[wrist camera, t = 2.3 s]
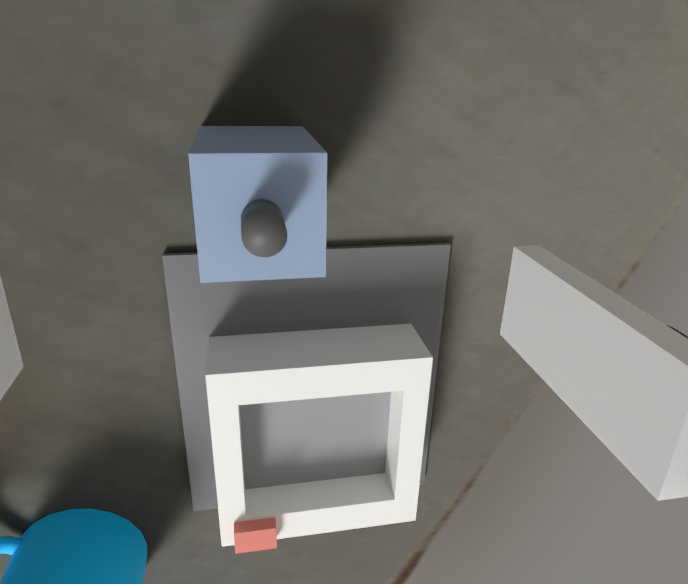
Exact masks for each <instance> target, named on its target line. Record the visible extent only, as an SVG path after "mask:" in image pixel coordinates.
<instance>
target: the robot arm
mask: <svg viewBox="0 0 688 584" xmlns="http://www.w3.org/2000/svg"><path fill="white" fill-rule="evenodd" d="M500 335H501V336H502V337H503V338H504V339H505V340H506V341H507V342H508V343H509V344H510V345H511V346H512V347H513V348H514V349H515V350H516V351H517V352H518V354H519V355H520V356H521V357H522V358H523V359H524V360H525V361H526V362H527V363H528V364H529V365H530V366H531V367H532V368H533V369H534V370H535V372H536V373H537V374H538V375H539V376H540V377H541V378H542V379H543V380H544V381H545V382H546V383H547V384H548V385H549V386H550V387H551V388H552V389H553V391H554V392H555V393H556V394H557V395H558V396H559V397H560V398H561V399H562V400H563V401H564V402H565V403H566V404H567V405H568V406H569V407H570V408H571V410H572V411H573V412H574V413H575V414H576V415H577V416H578V417H579V418H580V419H581V420H582V421H583V422H584V423H585V424H586V425H587V427H589V429H590V430H591V431H592V432H593V433H594V434H595V435H596V436H597V437H598V438H599V439H600V440H601V441H602V442H603V443H604V444H605V446H606V447H607V448H608V449H609V450H610V451H611V452H612V453H613V454H614V455H615V456H616V457H617V458H618V459H619V460H620V461H621V462H622V463H623V465H624V466H625V467H627V469H628V470H629V471H630V472H631V473H632V474H633V475H634V476H635V477H636V478H637V479H638V480H639V481H640V483H641V484H642V485H643V486H644V487H645V488H646V489H647V490H648V491H649V492H650V493H651V494H652V495H653V496H654V497H655V498H656V500H666V499H673V498H680V497H687V496H688V337H687V336H686V335H684V334H683V333H681V332H679V331H678V330H676V329H674V328H672V327H670V326H667V325H665V324H664V323H662V322H660V321H659V320H657V319H656V318H654V317H652V316H651V315H649V314H647V313H646V312H644V311H643V310H641V309H640V308H638V307H636V306H635V305H633V304H631V303H630V302H628V301H627V300H625V299H624V298H622V297H620V296H619V295H617V294H616V293H614V292H612V291H611V290H609V289H608V288H606V287H604V286H603V285H601V284H600V283H598V282H596V281H595V280H593V279H592V278H590V277H588V276H587V275H585V274H584V273H582V272H581V271H579V270H577V269H576V268H574V267H573V266H571V265H569V264H568V263H566V262H565V261H563V260H561V259H560V258H558V257H557V256H555V255H553V254H552V253H550V252H549V251H547V250H545V249H544V248H542V247H541V246H518V247H514V250H513V256H512V262H511V269H510V275H509V281H508V287H507V294H506V300H505V306H504V312H503V318H502V325H501V331H500ZM22 368H23V363H22V359H21V355H20V351H19V347H18V343H17V339H16V335H15V331H14V327H13V323H12V319H11V316H10V312H9V308H8V304H7V300H6V296H5V292H4V288H3V284H2V280H1V276H0V400H1V399H2V397H3V396H4V394H5V393H6V391H7V390H8V389H9V387H10V386H11V384H12V383H13V381H14V380H15V379H16V377H17V376H18V374H19V373H20V371H21V370H22Z"/></svg>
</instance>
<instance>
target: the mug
mask: <svg viewBox="0 0 688 584" xmlns="http://www.w3.org/2000/svg"><path fill="white" fill-rule="evenodd" d="M2 553H4V554H10V555H12V558H11V560H10V562H9V564H8V567H7V569H6V571H5V573H4V576H3V578H2V580H1V582H0V584H143V579H144V573H145V567H146V562H147V543H146V541H145V539H144V537H143V534H142V532H141V531H140V530H139V529H138V528H137V527H136V526H134V525H133V524H132V523H131V522H130V521H129V520H127V519H125V518H123V517H121V516H118V515H116V514H114V513H112V512H107V511H102V510H97V509H69V510H65V511H61V512H57V513H53V514H50V515H48V516H46V517H44V518H42V519H40V520H39V521H37V522H35V523H33V524H32V525H31V526H30V527H29V528H28V529H27V530H26V531H25V532H24V533H23V535H22V536H21V537H20V538H16V537H11V536H5V537H0V554H2Z"/></svg>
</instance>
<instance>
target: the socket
mask: <svg viewBox="0 0 688 584" xmlns="http://www.w3.org/2000/svg"><path fill="white" fill-rule="evenodd" d="M450 248H451V244H450V243H449V242H444V243H418V244H391V245H365V246H339V247H326V277H315V278H294V279H273V280H253V281H232V282H211V283H200V274H199V263H198V252H182V253H163V255H162V258H163V267H164V275H165V283H166V291H167V299H168V307H169V316H170V324H171V332H172V340H173V348H174V356H175V365H176V373H177V381H178V389H179V397H180V405H181V414H182V422H183V430H184V438H185V446H186V454H187V463H188V471H189V479H190V487H191V495H192V503H193V511H199V510H207V509H216V508H218V511H219V522H220V532H221V542H222V547H223V546H230V545H235V554H237V553H244V552H251V551H259V550H266V549H273V548H277V539H282V538H289V537H297V536H304V535H311V534H319V533H326V532H334V531H341V530H348V529H356V528H363V527H371V526H378V525H385V524H393V523H400V522H408V521H415V520H416V511H417V501H418V492H419V484H420V483H424V479H425V470H426V461H427V453H428V444H429V435H430V426H431V417H432V408H433V399H434V390H435V381H436V372H437V364H438V355H439V346H440V337H441V328H442V319H443V310H444V301H445V292H446V283H447V275H448V266H449V257H450Z"/></svg>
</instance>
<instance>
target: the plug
mask: <svg viewBox="0 0 688 584" xmlns="http://www.w3.org/2000/svg"><path fill="white" fill-rule="evenodd" d="M188 156H189V167H190V177H191V188H192V199H193V210H194V220H195V231H196V242H197V252H198V263H199V274H200V283H211V282H232V281H253V280H273V279H294V278H315V277H326V218H327V152H326V151H325V150H324V149H323V148H322V147H321V145H320V144H319V143H318V142H317V141H316V140H315V139H314V138H313V137H312V136H311V135H310V134H309V132H308V131H307V130H306V129H305V128H304V127H303V126H201V128H200V130H199V132H198V134H197V136H196V138H195V140H194V143H193V145H192V147H191V149H190V151H189V153H188Z"/></svg>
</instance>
